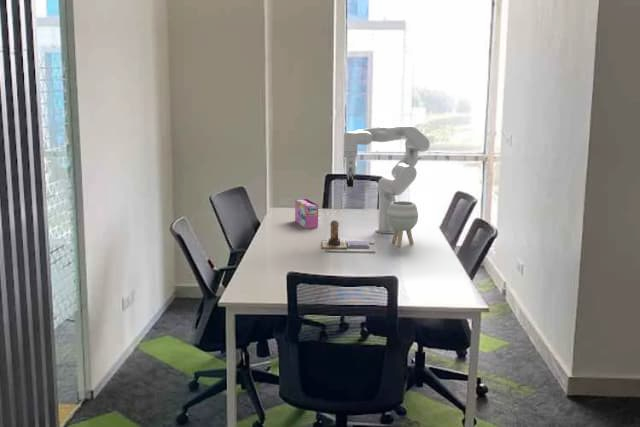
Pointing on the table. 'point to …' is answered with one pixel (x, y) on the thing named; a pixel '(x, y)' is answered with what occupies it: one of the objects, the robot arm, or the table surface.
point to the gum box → (306, 213)
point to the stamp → (334, 233)
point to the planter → (402, 220)
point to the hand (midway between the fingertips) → (349, 185)
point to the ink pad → (358, 244)
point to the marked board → (326, 245)
